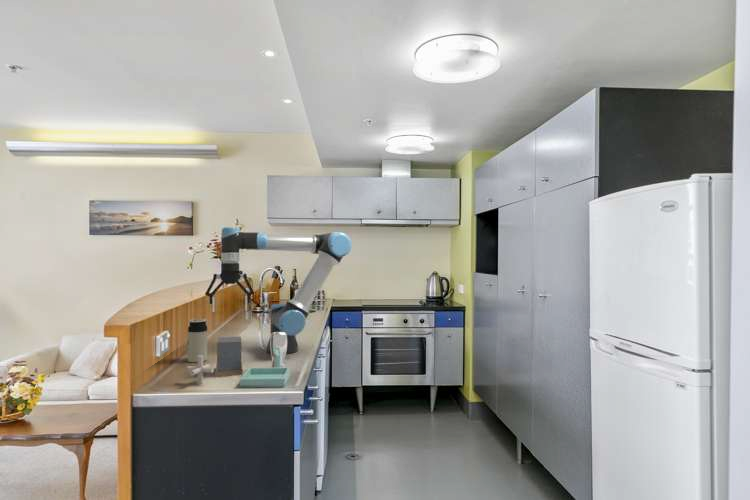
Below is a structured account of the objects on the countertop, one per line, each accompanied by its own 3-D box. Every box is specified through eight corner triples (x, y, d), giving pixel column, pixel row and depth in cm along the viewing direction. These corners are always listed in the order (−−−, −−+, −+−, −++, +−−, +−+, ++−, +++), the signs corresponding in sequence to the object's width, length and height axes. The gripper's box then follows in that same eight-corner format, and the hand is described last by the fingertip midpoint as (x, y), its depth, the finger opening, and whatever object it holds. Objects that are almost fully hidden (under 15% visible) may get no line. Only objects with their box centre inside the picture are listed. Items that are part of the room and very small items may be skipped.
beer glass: (290, 368, 182) (290, 332, 182) (281, 372, 176) (281, 335, 176) (275, 367, 184) (275, 331, 185) (266, 371, 178) (266, 334, 178)
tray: (249, 375, 171) (249, 367, 171) (289, 375, 172) (289, 367, 172) (239, 387, 155) (239, 379, 156) (284, 387, 157) (284, 378, 157)
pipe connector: (204, 388, 155) (204, 359, 155) (179, 386, 157) (179, 358, 157) (220, 380, 165) (220, 353, 165) (196, 378, 167) (196, 352, 167)
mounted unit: (216, 368, 182) (216, 337, 182) (241, 366, 185) (242, 335, 185) (215, 376, 169) (215, 343, 169) (242, 374, 172) (242, 341, 172)
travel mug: (209, 358, 199) (209, 318, 199) (203, 362, 191) (203, 321, 191) (191, 358, 199) (192, 318, 199) (184, 362, 191) (185, 321, 191)
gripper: (199, 262, 184) (198, 313, 184) (260, 262, 192) (260, 311, 192) (200, 262, 192) (199, 311, 191) (259, 262, 199) (258, 309, 199)
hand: (230, 311), depth 192 cm, fingers open, 13 cm apart
